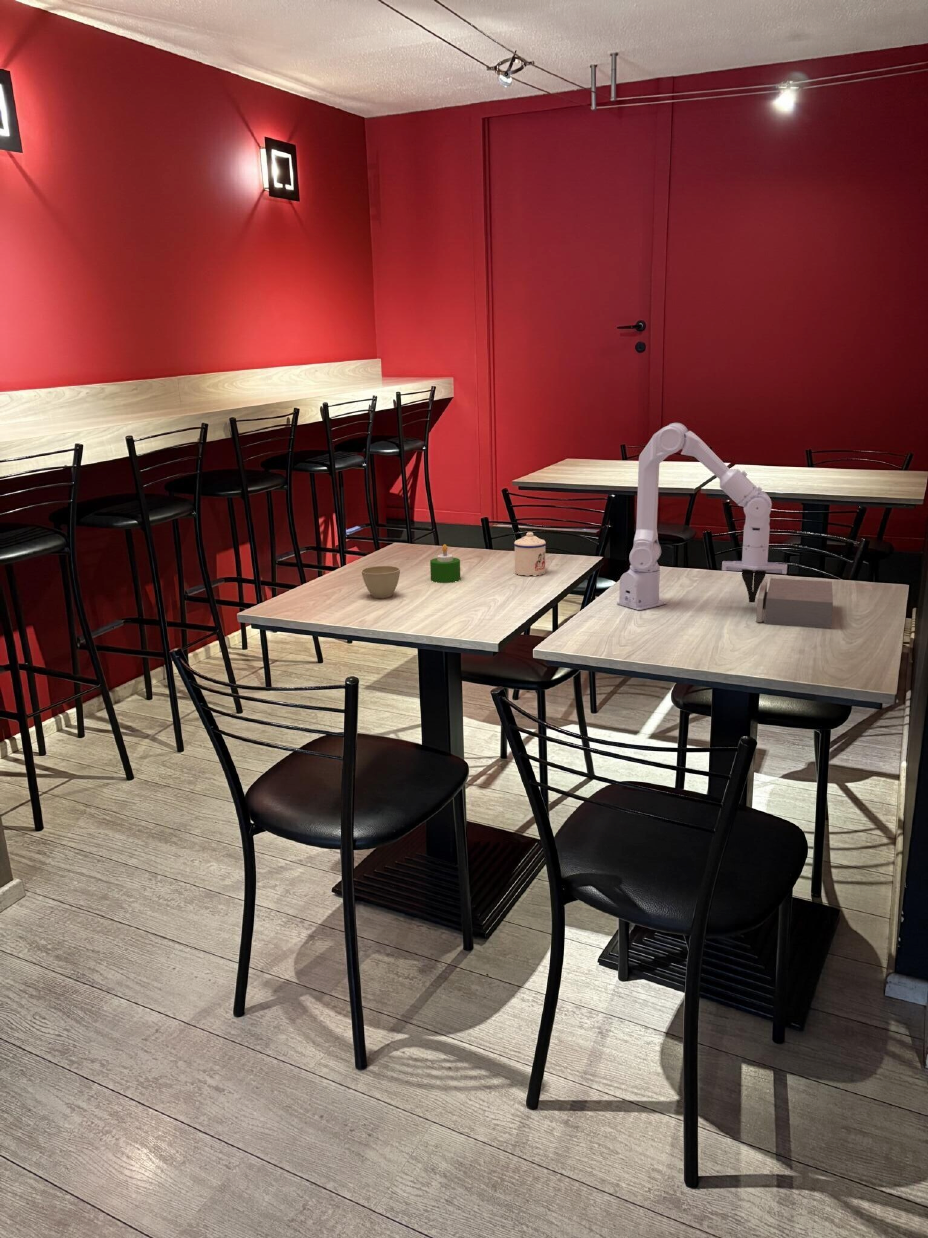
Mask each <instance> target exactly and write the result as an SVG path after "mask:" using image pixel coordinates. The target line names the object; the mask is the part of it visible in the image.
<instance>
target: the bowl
mask: <svg viewBox="0 0 928 1238" xmlns="http://www.w3.org/2000/svg"><path fill="white" fill-rule="evenodd" d="M400 573H401V568H400V567H399V566H395V565H374V566H368V567H367V566H366V567H365V568H362V569H361V577H362V579H363V582H364V584H365V587H366V588H367V591H368V592H369V594H370V596H372V598H374V599H388V598H390V597H391V598H392V596H393V595H394V593H395V592H396V591H395V590H396V589H397V586H398V583H399V580H400Z"/></svg>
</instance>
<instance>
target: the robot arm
mask: <svg viewBox="0 0 928 1238" xmlns="http://www.w3.org/2000/svg"><path fill="white" fill-rule="evenodd" d="M680 450H682V451H681V453H680V455H684V456H689V457H694V458H695V459H697V461H699V463H701V464H702V465H703V466H704V467H706V469H708V470H709V472H711V473H712V474H713V475H714V476H715V477H716V478H718V480H719V488H720V489H721V490H722V491H723V492H724V493H725V494H727V496H729V498H730V499H731V500H732V501H734V503H736V504H737V506H739V507H743V513H744V516H745V521H744V525H743V540H742V552H741V553H742V555H741V556H742V557H741V560H733V561H732V560H727V561H726V560H723V561H722V562H721V563H722V564H721V571H723V572H726V571H735V572H741V578H742V580H743V583H744V584H745V587H746V591H747V596H748V603H756V598H757V593H759V590H760V587H761V583H762V581H763V579H765V577H766V574H767V573H769V574H770V573H774V574H775V573H776V574H782V575H787V573H788V564H787V563H785V564H784V563H776V562H769V561H768V558H769V544H770V541H769V540H770V529H771V527H770V522H771V519H770V517H771V516H770V514H771V511H772V506H773V503H772V499H771V498H770V496H769V495H768V493H767V492H765V491H762V490H763V489H762V487H761V486H758V487H757V485H755V484H754V483H753V482H752V481H751V480H750V479H749V478H748V477H747V476H748V473H747V472H746V471H745V470H743V471H741V470H740V469H738V468H734V469H733V468H729V467H728V466H727V464H726V463H725V462H723V460H722V459H721V458H719V456H718V455H716V453H715V452H714V451H713V450H712V449H711V448H710V447H709V446H708V445H707V444H706V443H705V441H703V440H702V439H701V438H700V437H699V436H698V435H696V433H695V432H693V431H691V430H689V429H688V428H687V426H685V425H684V424H683V423H680V422H673V423H669V424H668V425H667V426H664V427H662V428H661V429H659V430H658V431H657V432H655V433H654V434H653V435H652V437H651V438H650V440H649V441H648V443H647V444H646V445H645V447H644V449H643V450H642V451H641V453H640V454H639V455H638V456H639V457H638V468H637V469H638V473H637V474H638V475H637V476H638V477H637V478H638V479H637V496H636V497H637V499H636V500H637V503H636V525H635V526H636V527H635V528H636V530H635V534H634V538H633V546H632V549H631V551H630V553H629V558H628V560H629V564H630V565H629V569H628V570H627V571H626V572H624V573H623V574H622V575H621V576H620V578H619V595H618V597H619V598H618V599H619V600H618V601H617V602H616V604H617V605H619V606H623V607H627V608H630V609H632V610H633V609H634V610H637V611H641V610H646V609H651V608H654V607H658V606H659V607H660V606H663V605H667V602H666V601H663V600H660V577H661V576H660V575H661V572H660V571H661V566H660V565H659V564H658V560H659V558H660V557H661V554H662V548H661V544H660V543H659V538H658V537H659V535H658V534H659V533H658V527H657V526H658V507H659V506H658V505H659V484H660V483H659V482H660V481H659V480H660V477H659V475H660V464H661V463H662V462H663V461H664V460H665V459H667V458H668V457H669V456H671V455H674V454H675V453H677V452H679V451H680Z"/></svg>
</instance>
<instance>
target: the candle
mask: <svg viewBox="0 0 928 1238" xmlns="http://www.w3.org/2000/svg"><path fill="white" fill-rule="evenodd" d="M441 549H442V550H441V551H442V553H441V554H439V555H437V557H436V558H432V559H430V561H429V567H430V581H431V582H432V581H433V582H432V583H436V582H437V584H451V583H456V582H455V581H457V582H459V580H460V581H461V559H460V558H457V557H453V554H448V546H447V544H445V543H444V544H443V545H442V548H441Z"/></svg>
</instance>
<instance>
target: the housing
mask: <svg viewBox="0 0 928 1238" xmlns="http://www.w3.org/2000/svg"><path fill="white" fill-rule="evenodd" d="M767 592H768V593H767V597H766V610H765V621H764V624H765V625H775V626H777V625H778V626H789V627H790V626H791V627H802V628H803V627H805V628H819V629H831V628H832V619H833V618H832V617H833V606H834V595H833V594H834V593H833V592H834V591H833V582H832V581H826V580H824V581H823V580H809V579H792V578H773V577H771V578H770V580H769V584H768V587H767Z"/></svg>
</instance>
